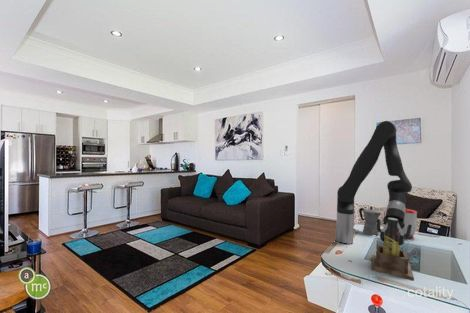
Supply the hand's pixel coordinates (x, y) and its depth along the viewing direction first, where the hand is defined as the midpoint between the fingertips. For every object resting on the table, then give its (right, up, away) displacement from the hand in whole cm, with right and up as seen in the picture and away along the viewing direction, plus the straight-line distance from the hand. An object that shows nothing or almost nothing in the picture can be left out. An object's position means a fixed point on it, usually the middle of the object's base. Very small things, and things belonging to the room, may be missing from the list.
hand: (391, 242), depth 104 cm
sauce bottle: (+1, -10, +1) cm, 10 cm away
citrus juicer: (+39, -13, +48) cm, 63 cm away
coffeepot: (+19, -13, +51) cm, 56 cm away
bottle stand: (+1, -12, +1) cm, 12 cm away
